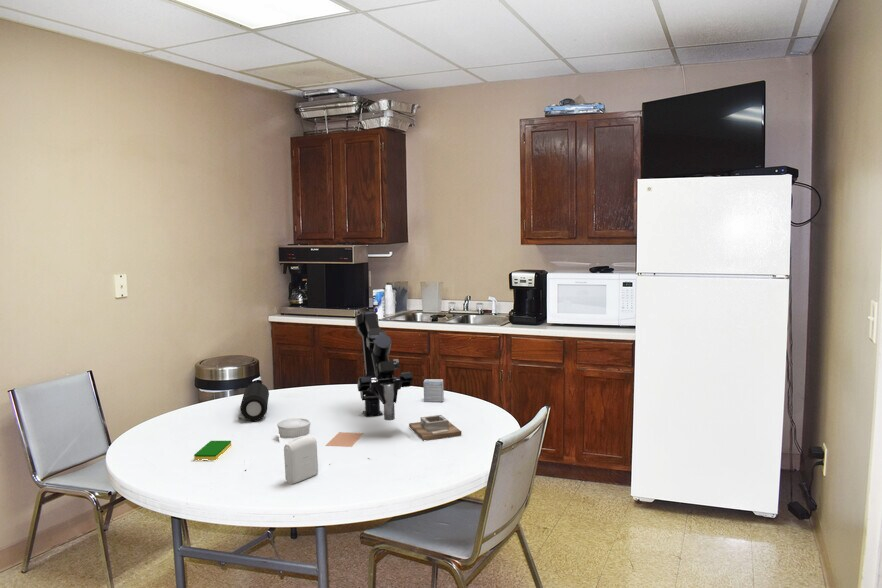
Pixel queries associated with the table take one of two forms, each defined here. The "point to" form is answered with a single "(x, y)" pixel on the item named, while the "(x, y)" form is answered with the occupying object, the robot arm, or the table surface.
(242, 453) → the table surface
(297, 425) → the ramekin
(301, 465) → the photo printer
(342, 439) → the peach flat block
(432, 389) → the medicine box
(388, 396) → the steel peg
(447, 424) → the board
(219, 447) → the dish sponge
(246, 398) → the portable speaker
